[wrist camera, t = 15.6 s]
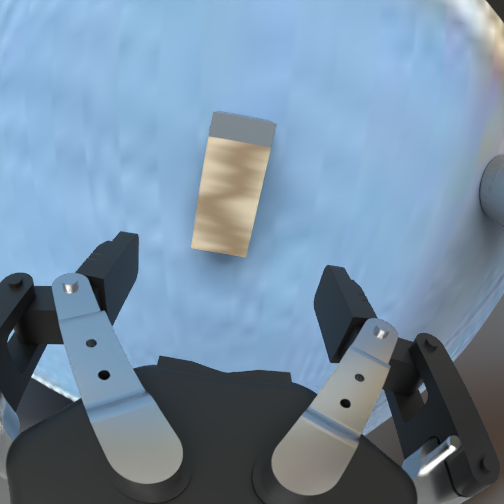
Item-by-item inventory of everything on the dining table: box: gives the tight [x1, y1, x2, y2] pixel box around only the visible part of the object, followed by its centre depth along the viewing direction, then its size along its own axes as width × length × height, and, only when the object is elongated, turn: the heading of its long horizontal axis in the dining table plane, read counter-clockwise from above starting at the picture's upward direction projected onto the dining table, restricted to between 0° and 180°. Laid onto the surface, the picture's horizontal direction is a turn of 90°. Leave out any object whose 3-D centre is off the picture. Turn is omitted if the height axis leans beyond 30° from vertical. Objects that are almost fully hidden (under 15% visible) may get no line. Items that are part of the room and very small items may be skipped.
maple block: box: [191, 111, 276, 257], centre depth 27 cm, size 5×5×12 cm
